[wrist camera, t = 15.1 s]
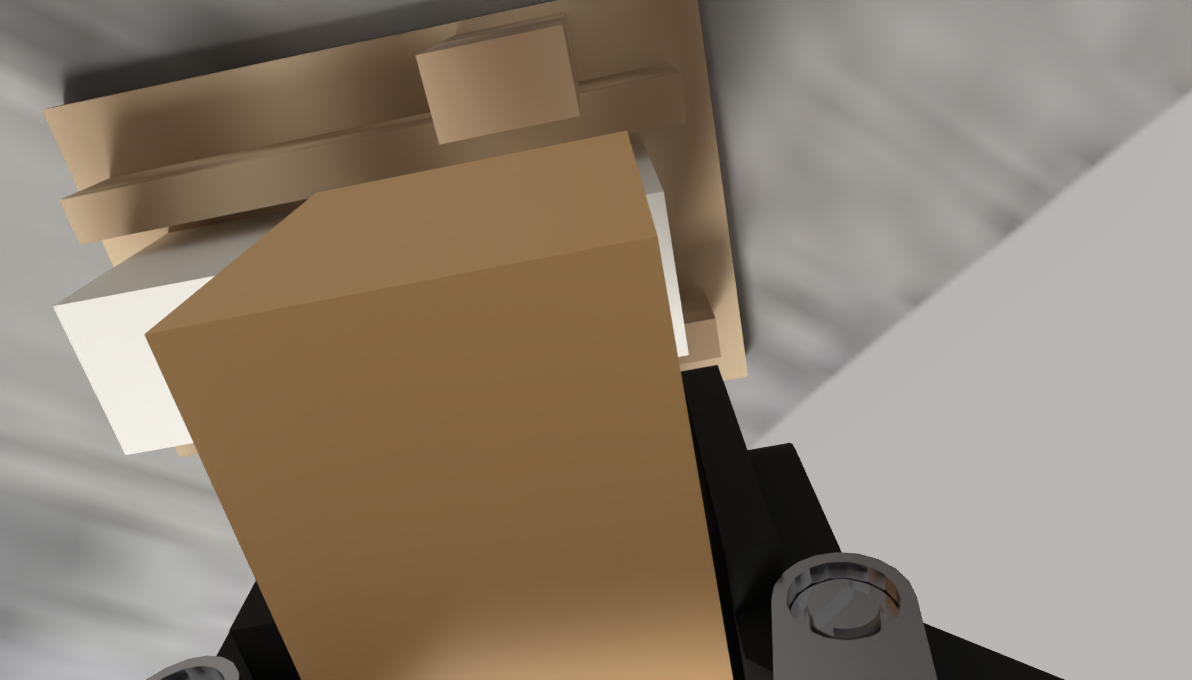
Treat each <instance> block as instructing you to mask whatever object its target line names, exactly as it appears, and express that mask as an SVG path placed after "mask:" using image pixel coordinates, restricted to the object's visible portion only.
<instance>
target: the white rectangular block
mask: <svg viewBox="0 0 1192 680" xmlns="http://www.w3.org/2000/svg"><path fill="white" fill-rule="evenodd" d="M631 146H632V150H633V153H634V156H635V160H636V163H637V167H638V170H639V174H640V177H641V181H642V184H643V187H644V191H645V194H646V198H647V201H648V205H649V208H650V211H651V215H652V218H653V222H654V225H655V229H656V232H657V236H658V241H659V247H660V253H661V259H662V265H663V270H664V276H665V282H666V288H667V294H668V300H669V306H670V312H671V317H672V323H673V329H674V335H675V341H676V347H677V353H678V357H681V356H686V355H689V353H688V346H687V340H686V333H685V327H684V320H683V314H682V307H681V301H680V294H679V288H678V281H677V275H676V268H675V262H674V255H673V249H672V242H671V236H670V229H669V223H668V216H667V210H666V203H665V197H664V191H663V189H662V186H661V184H660V181H659V179H658V177H657V174H656V172H655V169H654V167H653V165H652V162H651V160H650V157H649V155H648V152H647V150H646V148H645V145H644V143H643V142H641V143H635V144H631ZM296 209H297V208H296ZM296 209H291V210H285V211H280V212H275V213H270V214H265V215H259V216H254V217H249V218H244V219H238V220H233V221H228V222H223V223H218V224H212V225H207V226H202V227H197V228H191V229H186V230H181V231H176V232H171V233H167V234H166V235H164V236H162V237H161V238H159V239H158V240H156V241H155V242H153V243H152V244H150V245H148V246H147V247H145V248H144V249H142V250H141V251H139V252H137V253H136V254H134V255H133V256H131V257H130V258H128V259H126V260H125V261H123V262H122V263H120V264H119V265H117V266H115V267H114V268H112V269H111V270H109V271H108V272H106V273H104V274H103V275H101V276H100V277H98V278H97V279H95V280H94V281H92V282H90V283H89V284H87V285H86V286H84V287H83V288H81V289H79V290H78V291H76V292H75V293H73V294H72V295H70V296H68V297H67V298H65V299H64V300H62V301H61V302H59V303H57V304H56V305H54V306H53V307H54V309H55V311H56V313H57V315H58V317H59V319H60V322H61V324H62V326H63V328H64V330H65V332H66V334H67V336H68V338H69V340H70V342H71V344H72V346H73V348H74V350H75V352H76V354H77V356H78V358H79V360H80V362H81V365H82V367H83V369H84V371H85V373H86V375H87V377H88V379H89V381H90V383H91V385H92V387H93V389H94V391H95V393H96V395H97V397H98V399H99V401H100V403H101V406H102V408H103V410H104V412H105V414H106V416H107V418H108V420H109V422H110V424H111V426H112V428H113V430H114V432H115V434H116V436H117V438H118V440H119V442H120V444H121V446H122V449H123V451H124V453H125V455H129V454H134V453H140V452H145V451H151V450H157V449H162V448H168V447H174V446H179V445H185V444H191V443H193V441H192V438H191V436H190V434H189V432H188V430H187V427H186V425H185V423H184V421H183V419H182V417H181V414H180V412H179V410H178V408H177V406H176V403H175V401H174V399H173V397H172V395H171V392H170V390H169V388H168V386H167V384H166V381H165V379H164V377H163V375H162V373H161V370H160V368H159V366H158V364H157V362H156V359H155V357H154V355H153V353H152V351H151V348H150V346H149V344H148V342H147V340H146V337H145V335H144V334H145V333H146V332H148V331H149V330H150V329H151V328H152V327H154V326H155V325H156V324H157V323H159V322H160V321H161V320H162V319H163V318H165V317H166V316H167V315H168V314H169V313H171V312H172V311H173V310H174V309H176V308H177V307H178V306H179V305H180V304H182V303H183V302H184V301H185V300H186V299H188V298H189V297H190V296H191V295H193V294H194V293H195V292H196V291H197V290H199V289H200V288H201V287H202V286H203V285H205V284H206V283H207V282H208V281H209V280H211V279H212V278H213V277H214V276H216V275H217V274H218V273H219V272H220V271H222V270H223V269H224V268H225V267H226V266H228V265H229V264H230V263H231V262H233V261H234V260H235V259H236V258H237V257H239V256H240V255H241V254H242V253H243V252H245V251H246V250H247V249H248V248H250V247H251V246H252V245H253V244H254V243H256V242H257V241H258V240H259V239H260V238H262V237H263V236H264V235H265V234H267V233H268V232H269V231H270V230H271V229H273V228H274V227H275V226H276V225H277V224H279V223H280V222H281V221H282V220H284V219H285V218H286V217H287V216H288V215H290V214H291V213H292V212H293V211H294V210H296Z"/></svg>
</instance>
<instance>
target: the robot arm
mask: <svg viewBox="0 0 1192 680" xmlns="http://www.w3.org/2000/svg"><path fill="white" fill-rule="evenodd" d="M681 376H682V382H683V388H684V394H685V400H686V406H687V412H688V417H689V423H690V429H691V435H692V441H693V447H694V453H695V459H696V464H697V470H698V476H699V482H700V488H701V494H702V500H703V506H704V511H705V517H706V523H707V529H708V535H709V541H710V547H711V553H712V559H713V564H714V570H715V576H716V582H717V588H718V594H719V600H720V606H721V611H722V617H723V623H724V629H725V635H726V641H727V647H728V653H729V658H730V664H731V670H732V676H733V680H1064V679H1061V678H1059V677H1056V676H1054V675H1052V674H1049V673H1047V672H1044V671H1041V670H1039V669H1037V668H1034V667H1032V666H1029V665H1027V664H1024V663H1022V662H1019V661H1017V660H1014V659H1012V658H1009V657H1007V656H1004V655H1002V654H1000V653H997V652H995V651H992V650H990V649H987V648H985V647H982V646H980V645H977V644H974V643H972V642H970V641H967V640H965V639H962V638H960V637H957V636H955V635H952V634H950V633H947V632H945V631H943V630H940V629H937V628H935V627H932V626H930V625H928V624H925V623H923V620H922V616H921V612H920V608H919V604H918V600H917V596H916V594H915V592H914V590H913V588H912V586H911V584H910V582H909V581H908V580H907V579H906V578H905V577H904V576H903V575H902V574H901V573H900V572H899V571H898V570H897V569H896V568H894V567H892V566H890V565H888V564H886V563H884V562H883V561H881V560H879V559H876V558H872V557H868V556H865V555H861V554H856V553H842V552H841V550H840V548H839V545H838V543H837V541H836V539H835V536H834V534H833V532H832V530H831V528H830V525H829V523H828V521H827V519H826V516H825V514H824V512H823V510H822V507H821V505H820V503H819V501H818V499H817V496H816V494H815V492H814V490H813V487H812V485H811V483H810V481H809V478H808V476H807V474H806V472H805V470H804V467H803V465H802V463H801V461H800V458H799V456H798V454H797V452H796V450H795V448H794V446H793V444H791V443H787V444H780V445H775V446H769V447H763V448H757V449H752V450H747V448H746V445H745V442H744V439H743V436H742V433H741V430H740V427H739V424H738V422H737V419H736V416H735V413H734V410H733V407H732V404H731V401H730V399H729V396H728V393H727V390H726V387H725V384H724V381H723V378H722V375H721V373H720V370H719V367H718V365H713V366H707V367H702V368H696V369H691V370H685V371H681ZM229 631H230V632H229V634H228V636H227V637H226V639H225V641H224V643H223V645H222V647H221V649H220V651H219V652H218V654H217V656H203V657H197V658H192V659H187V660H185V661H182V662H180V663H177V664H174V665H172V666H169V667H167V668H165V669H163V670H162V671H160V672H158V673H157V674H155V675H153V676H151V677H150V678H148V679H146V680H301V678H300V676H299V673H298V671H297V669H296V667H295V665H294V662H293V660H292V658H291V656H290V654H289V652H288V649H287V647H286V645H285V643H284V641H283V638H282V636H281V634H280V632H279V630H278V627H277V625H276V623H275V621H274V619H273V616H272V614H271V612H270V610H269V608H268V605H267V603H266V601H265V599H264V597H263V594H262V592H261V590H260V588H259V586H258V583H257V581H256V582H255V583H254V585H253V587H252V589H251V591H250V593H249V595H248V596H247V598H246V600H245V602H244V604H243V606H242V608H241V610H240V611H239V613H238V615H237V617H236V619H235V621H234V623H233V624H232V626H231V628H230V630H229Z"/></svg>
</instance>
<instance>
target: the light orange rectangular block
mask: <svg viewBox="0 0 1192 680" xmlns="http://www.w3.org/2000/svg"><path fill="white" fill-rule="evenodd" d="M144 335H145V337H146V340H147V342H148V344H149V346H150V348H151V351H152V353H153V355H154V357H155V359H156V362H157V364H158V366H159V368H160V370H161V373H162V375H163V377H164V379H165V381H166V384H167V386H168V388H169V390H170V392H171V395H172V397H173V399H174V401H175V403H176V406H177V408H178V410H179V412H180V414H181V417H182V419H183V421H184V423H185V425H186V427H187V430H188V432H189V434H190V436H191V438H192V441H193V443H194V445H195V447H196V449H197V452H198V454H199V456H200V458H201V460H202V463H203V465H204V467H205V469H206V471H207V474H208V476H209V478H210V480H211V482H212V485H213V487H214V489H215V491H216V493H217V496H218V498H219V500H220V502H221V504H222V507H223V509H224V511H225V513H226V515H227V518H228V520H229V522H230V524H231V526H232V529H233V531H234V533H235V535H236V537H237V540H238V542H239V544H240V546H241V548H242V550H243V553H244V555H245V557H246V559H247V561H248V564H249V566H250V568H251V570H252V572H253V575H254V577H255V579H256V581H257V583H258V586H259V588H260V590H261V592H262V594H263V597H264V599H265V601H266V603H267V605H268V608H269V610H270V612H271V614H272V616H273V619H274V621H275V623H276V625H277V627H278V630H279V632H280V634H281V636H282V638H283V641H284V643H285V645H286V647H287V649H288V652H289V654H290V656H291V658H292V660H293V662H294V665H295V667H296V669H297V671H298V673H299V676H300V678H301V680H733V676H732V670H731V664H730V658H729V653H728V647H727V641H726V635H725V629H724V623H723V617H722V611H721V606H720V600H719V594H718V588H717V582H716V576H715V570H714V564H713V559H712V553H711V547H710V541H709V535H708V529H707V523H706V517H705V511H704V506H703V500H702V494H701V488H700V482H699V476H698V470H697V464H696V459H695V453H694V447H693V441H692V435H691V429H690V423H689V417H688V412H687V406H686V400H685V394H684V388H683V382H682V376H681V370H680V364H679V359H678V353H677V347H676V341H675V335H674V329H673V323H672V317H671V312H670V306H669V300H668V294H667V288H666V282H665V276H664V270H663V265H662V259H661V253H660V247H659V241H658V236H657V232H656V229H655V225H654V222H653V218H652V215H651V211H650V208H649V205H648V201H647V198H646V194H645V191H644V187H643V184H642V181H641V177H640V174H639V170H638V167H637V163H636V160H635V156H634V153H633V150H632V146H631V143H630V139H629V136H628V132H627V131H622V132H617V133H612V134H607V135H602V136H597V137H592V138H587V139H582V140H577V141H572V142H567V143H562V144H557V145H552V146H547V147H542V148H537V149H532V150H527V151H522V152H517V153H512V154H507V155H502V156H497V157H492V158H487V159H482V160H477V161H472V162H467V163H462V164H457V165H452V166H447V167H442V168H437V169H432V170H427V171H422V172H417V173H412V174H407V175H402V176H397V177H392V178H387V179H382V180H377V181H372V182H367V183H362V184H357V185H352V186H347V187H342V188H337V189H332V190H327V191H322V192H317V193H315V194H314V195H313V196H311V197H310V198H309V199H308V200H307V201H305V202H304V203H303V204H302V205H301V206H299V207H298V208H297V209H296V210H294V211H293V212H292V213H291V214H290V215H288V216H287V217H286V218H285V219H284V220H282V221H281V222H280V223H279V224H277V225H276V226H275V227H274V228H273V229H271V230H270V231H269V232H268V233H267V234H265V235H264V236H263V237H262V238H260V239H259V240H258V241H257V242H256V243H254V244H253V245H252V246H251V247H250V248H248V249H247V250H246V251H245V252H243V253H242V254H241V255H240V256H239V257H237V258H236V259H235V260H234V261H233V262H231V263H230V264H229V265H228V266H226V267H225V268H224V269H223V270H222V271H220V272H219V273H218V274H217V275H216V276H214V277H213V278H212V279H211V280H209V281H208V282H207V283H206V284H205V285H203V286H202V287H201V288H200V289H199V290H197V291H196V292H195V293H194V294H193V295H191V296H190V297H189V298H188V299H186V300H185V301H184V302H183V303H182V304H180V305H179V306H178V307H177V308H176V309H174V310H173V311H172V312H171V313H169V314H168V315H167V316H166V317H165V318H163V319H162V320H161V321H160V322H159V323H157V324H156V325H155V326H154V327H152V328H151V329H150V330H149V331H148V332H146V333H145V334H144Z"/></svg>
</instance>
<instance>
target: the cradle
mask: <svg viewBox="0 0 1192 680" xmlns="http://www.w3.org/2000/svg"><path fill="white" fill-rule="evenodd" d="M42 111H43V113H44V115H45V118H46V120H47V122H48V124H49V126H50V129H51V131H52V133H53V135H54V137H55V140H56V142H57V144H58V146H59V148H60V151H61V153H62V155H63V157H64V159H65V161H66V164H67V166H68V168H69V170H70V172H71V175H72V177H73V179H74V181H75V183H76V186H77V188H78V190H79V192H77V193H74V194H72V195H70V196H68V197H65V198H63V199H61V200H60V203H61V205H62V207H63V209H64V211H65V213H66V215H67V217H68V220H69V222H70V224H71V226H72V228H73V230H74V232H75V235H76V237H77V239H78V241H79V243H80V244H85V243H90V242H95V241H100V240H102V243H103V245H104V247H105V249H106V251H107V254H108V256H109V258H110V260H111V262H112V264H113V267H115V266H117V265H119V264H120V263H122V262H123V261H125V260H126V259H128V258H130V257H131V256H133V255H134V254H136V253H137V252H139V251H141V250H142V249H144V248H145V247H147V246H148V245H150V244H152V243H153V242H155V241H156V240H158V239H159V238H161V237H162V236H164V235H166V234H167V233H171V232H176V231H181V230H186V229H191V228H197V227H202V226H207V225H212V224H218V223H223V222H228V221H233V220H238V219H244V218H249V217H254V216H259V215H265V214H270V213H275V212H280V211H285V210H291V209H296V208H298V207H299V206H301V205H302V204H303V203H304V202H305V201H307V200H308V199H309V198H310V197H311V196H313V195H314V194H315V193H317V192H322V191H327V190H332V189H337V188H342V187H347V186H352V185H357V184H362V183H367V182H372V181H377V180H382V179H387V178H392V177H397V176H402V175H407V174H412V173H417V172H422V171H427V170H432V169H437V168H442V167H447V166H452V165H457V164H462V163H467V162H472V161H477V160H482V159H487V158H492V157H497V156H502V155H507V154H512V153H517V152H522V151H527V150H532V149H537V148H542V147H547V146H552V145H557V144H562V143H567V142H572V141H577V140H582V139H587V138H592V137H597V136H602V135H607V134H612V133H617V132H622V131H627V132H628V136H629V139H630V143H631V144H635V143H641V142H643V143H644V145H645V148H646V150H647V152H648V155H649V157H650V160H651V162H652V165H653V167H654V169H655V172H656V174H657V177H658V179H659V181H660V184H661V186H662V189H663V191H664V197H665V203H666V210H667V216H668V223H669V229H670V236H671V242H672V249H673V255H674V262H675V268H676V275H677V281H678V288H679V294H680V301H681V307H682V314H683V320H684V327H685V333H686V340H687V346H688V353H689V355H686V356H681V357H678V359H679V364H680V370H681V371H685V370H691V369H696V368H702V367H707V366H713V365H718V367H719V370H720V373H721V375H722V378H723V381H726V380H731V379H737V378H742V377H747V376H748V373H747V365H746V358H745V350H744V343H743V335H742V328H741V320H740V313H739V305H738V298H737V290H736V283H735V275H734V268H733V260H732V253H731V245H730V238H729V230H728V223H727V215H726V208H725V200H724V193H723V185H722V178H721V170H720V163H719V155H718V148H717V140H716V133H715V125H714V118H713V110H712V103H711V95H710V88H709V80H708V73H707V65H706V58H705V50H704V43H703V35H702V28H701V20H700V13H699V5H698V0H556V1H551V2H546V3H542V4H537V5H532V6H527V7H523V8H518V9H513V10H509V11H504V12H499V13H494V14H490V15H485V16H480V17H475V18H471V19H466V20H461V21H457V22H452V23H447V24H442V25H438V26H433V27H428V28H423V29H419V30H414V31H409V32H405V33H400V34H395V35H390V36H386V37H381V38H376V39H371V40H367V41H362V42H357V43H352V44H348V45H343V46H338V47H334V48H329V49H324V50H319V51H315V52H310V53H305V54H300V55H296V56H291V57H286V58H282V59H277V60H272V61H267V62H263V63H258V64H253V65H248V66H244V67H239V68H234V69H230V70H225V71H220V72H215V73H211V74H206V75H201V76H196V77H192V78H187V79H182V80H178V81H173V82H168V83H163V84H159V85H154V86H149V87H144V88H140V89H135V90H130V91H126V92H121V93H116V94H111V95H107V96H102V97H97V98H92V99H88V100H83V101H78V102H74V103H69V104H64V105H60V106H56V107H52V108H48V109H44V110H42ZM175 448H176V450H177V452H178V455H179V457H183V456H189V455H194V454H198V452H197V449H196V447H195V445H194V443H191V444H185V445H179V446H175Z"/></svg>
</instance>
